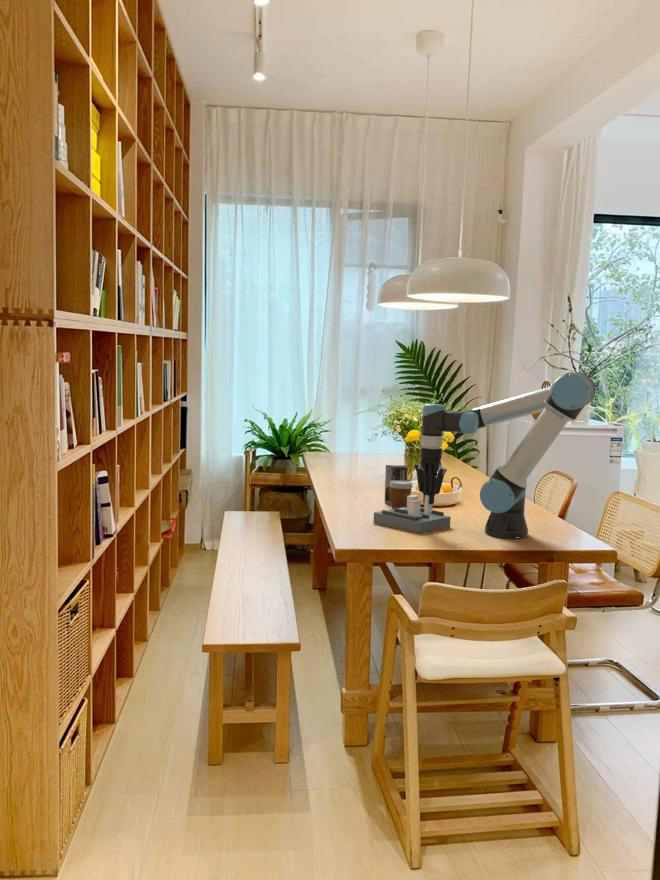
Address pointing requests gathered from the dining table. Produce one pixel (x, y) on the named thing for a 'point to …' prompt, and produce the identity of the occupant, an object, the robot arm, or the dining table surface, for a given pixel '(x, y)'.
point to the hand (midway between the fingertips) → (428, 512)
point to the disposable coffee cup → (400, 493)
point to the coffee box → (393, 478)
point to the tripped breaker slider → (414, 508)
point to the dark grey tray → (412, 519)
